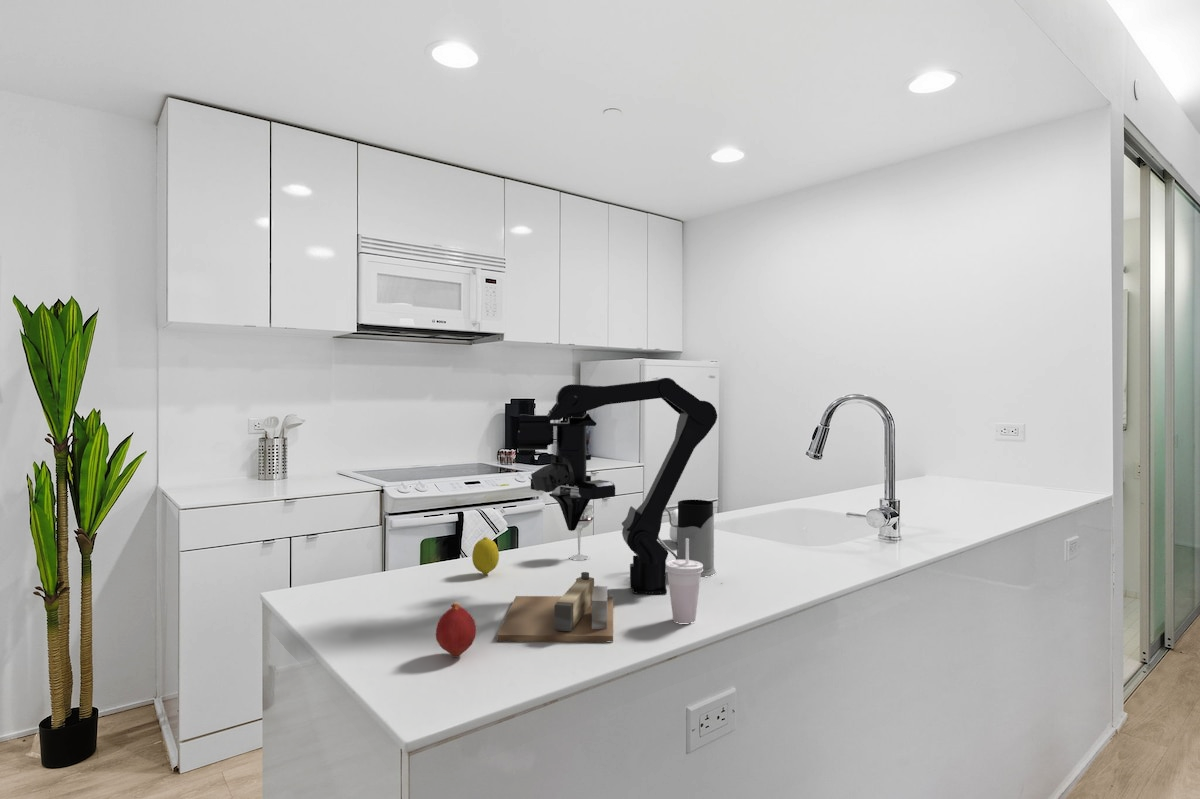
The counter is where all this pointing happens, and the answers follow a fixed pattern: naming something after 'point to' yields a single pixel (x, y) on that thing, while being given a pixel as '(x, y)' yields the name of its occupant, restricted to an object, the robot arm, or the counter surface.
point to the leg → (573, 604)
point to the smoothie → (684, 587)
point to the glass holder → (695, 533)
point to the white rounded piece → (675, 522)
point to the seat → (537, 619)
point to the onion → (456, 630)
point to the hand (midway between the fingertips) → (571, 530)
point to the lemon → (485, 555)
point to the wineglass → (583, 523)
